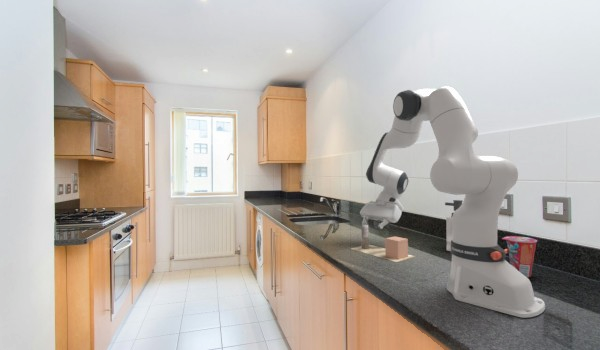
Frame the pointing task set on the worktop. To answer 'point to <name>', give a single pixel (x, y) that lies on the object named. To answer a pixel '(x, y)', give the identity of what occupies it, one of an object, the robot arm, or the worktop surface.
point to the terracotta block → (396, 247)
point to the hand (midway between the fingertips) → (371, 226)
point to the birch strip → (374, 247)
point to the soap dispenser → (449, 221)
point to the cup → (521, 253)
